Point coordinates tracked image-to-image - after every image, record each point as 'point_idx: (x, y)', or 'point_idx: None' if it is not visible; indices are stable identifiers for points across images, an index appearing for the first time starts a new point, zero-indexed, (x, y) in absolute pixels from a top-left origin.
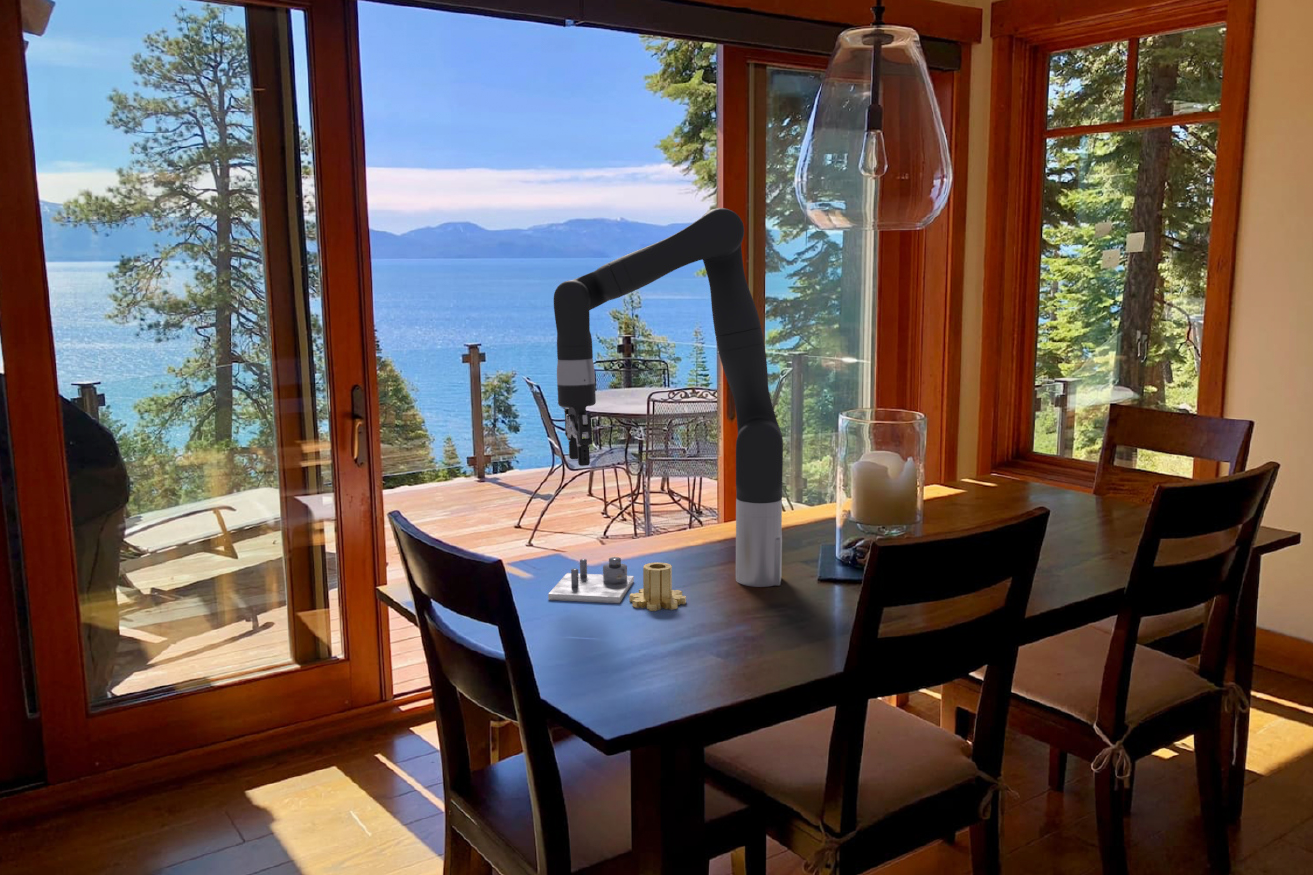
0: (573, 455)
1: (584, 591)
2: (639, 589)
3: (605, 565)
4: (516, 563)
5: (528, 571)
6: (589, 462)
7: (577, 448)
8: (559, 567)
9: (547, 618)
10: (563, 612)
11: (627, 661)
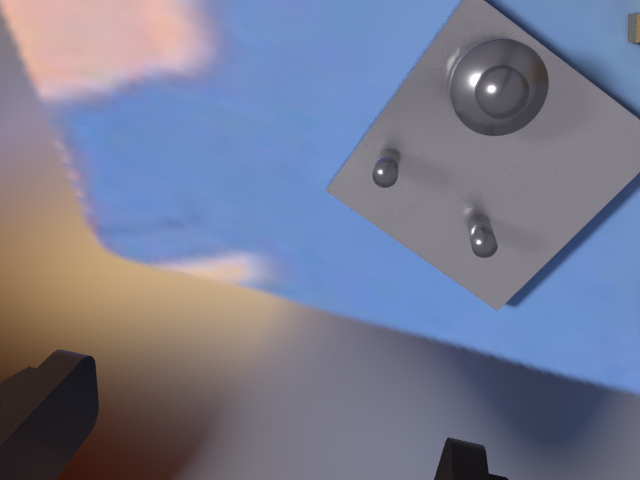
0: (79, 421)
1: (539, 217)
2: (637, 40)
3: (464, 116)
4: (118, 251)
5: (205, 250)
6: (483, 457)
7: (30, 437)
8: (196, 157)
9: (632, 352)
10: (614, 303)
11: None
